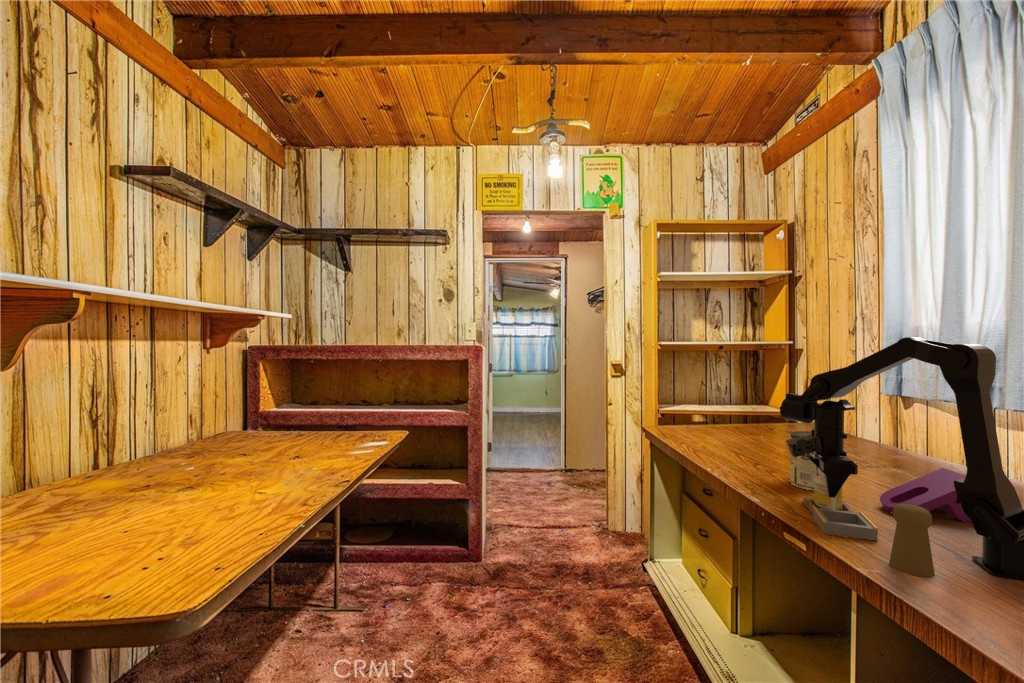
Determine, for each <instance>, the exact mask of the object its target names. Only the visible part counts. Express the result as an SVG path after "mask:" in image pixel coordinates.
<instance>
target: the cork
mask: <svg viewBox="0 0 1024 683" xmlns="http://www.w3.org/2000/svg"><path fill="white" fill-rule="evenodd" d="M930 512H931V511H928V510H926V509H924V508H922V507H919V506H916V505H911V504H898V505H896V506H895V507H894V509H893V514H892V516H893V520H894V521H895V522H896V526H895V529H894V530H895V531H894V536H893V542H892V547H891V552H890V558H889V563H888V564H889V565H890V567H892V568H894V569H895V570H897V571H899V572H901V573H904V574H907V575H910V576H915V577H919V578H934V577H935V575H936V573H935V568H934V567H935V566H934V560H933V554H932V549H931V543H930V534H929V530H928V529H929V528H930V527H931V526H932V523H933V517H932V514H931V513H930Z"/></svg>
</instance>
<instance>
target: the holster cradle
mask: <svg viewBox="0 0 1024 683" xmlns="http://www.w3.org/2000/svg"><path fill="white" fill-rule="evenodd" d="M802 500H803V501H804V502H803V501H802V502H803V504H804V505H805V504H806V505H805V507H806V508H807V507H808V508H809V509H808V508H807V509H808V511H809V510H810V511H811V512H810V511H809V512H810V514H813V506H815V504H813V503H814V498H809V497H808V496H803V498H802ZM842 509H843V510H844V511H848V512H855V511H854V509H852V508H851V507H850V506H849V504H848V503H846V501H844V500H842ZM843 510H842V511H843Z"/></svg>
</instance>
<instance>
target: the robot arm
mask: <svg viewBox="0 0 1024 683" xmlns="http://www.w3.org/2000/svg"><path fill="white" fill-rule="evenodd" d="M913 359H915V360H918V361H920V362H924V363H927V364H931V365H934V366H939V369H940V371H941V374H942V376H943V380H945V382H946V383H947V385H948V386H949V387H950V389H951V390H952V391H953V393H954V396H955V404H956V409H957V416H958V421H959V428H960V434H961V439H962V441H961V442H962V446H963V454H964V458H965V464H966V465H965V466H966V474H965V475H966V477H965V478H964V479H960V480H956V481H954V487H955V490H956V493H957V500H956V504H960V503H961V508H962V511H963V513H964V514H965V515H966V516H968V517H969V518H970V519H971V521H972V523H971V524H972V526H973V527H974V530H975V533H976V534H977V535H979V536H982V556H978V555H972V556H971V559H972V561H974V562H976V563H977V564H979V566H980V567H982V568H983V569H985V570H986V571H987V572H988V573H989V574H991V575H993V576H995V577H1003V578H1009V579H1017V580H1024V509H1023V506H1022V503H1021V500H1020V498H1019V496H1018V493H1017V490H1016V488H1015V486H1014V484H1013V483H1012V482H1011V480H1010V479H1009V477H1008V476H1007V474H1006V473H1005V471H1004V469H1003V463H1002V457H1001V451H1000V446H999V440H998V434H997V433H998V432H997V428H996V421H995V417H994V411H993V410H994V409H993V403H992V398H991V390H992V386H993V383H994V380H995V378H996V370H997V369H996V368H997V356H996V354H995V352H994V351H993V349H991V348H989V347H988V346H985V345H983V344H979V343H948V342H941V341H935V340H930V339H925V338H922V337H921V336H919V337H917V336H916V337H915V336H914V337H912V336H911V337H910V336H909V337H907V336H905V337H902V338H899V340H897V341H896V342H894V343H893V344H891V345H888V346H887V347H884V348H881V350H878V351H876V352H874V353H872V354H870V355H868V356H866V357H864V358H861V359H860V360H858V361H855V362H853V363H851V364H849V365H848V366H845V367H841V368H837V369H832V370H828V371H825V372H822V373H821V372H820V373H819V374H815V375H813V377H811V378H810V383H809V386H807V388H805V390H804V391H803V392H802V394H798V393H793V392H792V393H791V392H790V393H788V392H787V393H786V394H785V398H784V399H783V400H782V403H780V404H781V405H780V406H779V413H780V417H782V418H783V419H784V420H787V421H792V422H798V423H804V424H811V423H813V422H814V423H813V424H814V425H813V428H811V430H810V432H811V434H810V435H808V436H802V437H798V438H793V439H791V438H790V439H787V440H786V441H785V443H786V445H787V448H788V450H789V453H790V455H791V454H792V456H793V457H798V456H801V455H803V454H810V453H812V456H808V458H809V459H810V460H811V461H812V462H813V463H814V464H815V465H816V468H817V471H818V468H819V469H820V470H821V471H822V472H823V473H824V474H825V478H826V484H827V489H828V494H829V497H832V498H835V497H836V495H837V494H838V492H839V490H840V489H841V487H842V488H843V486H844V484H845V483H846V481H847V480H848V478H849V477H850V475H851V476H853V475H854V476H855V475H858V474H859V473H858V470H859V469H858V467H859V465H858V464H857V463H856V462H854V461H853V460H852V459H851V458H849V457H848V456H847V454H848V453H847V451H845V439H847V438H848V433H845V411H846V412H847V411H855V410H856V406H854V405H853V404H851V403H850V402H849V401H848V399H847V398H844V397H845V396H847V395H848V394H850V393H852V392H853V391H854V390H856V389H857V388H858V387H859V386H860V384H862V383H863V382H864V381H866V380H869V379H871V378H874V377H876V376H878V375H880V374H883V373H884V372H887V371H889V370H891V369H893V368H896V367H897V366H900V365H903V364H904V363H907V362H909V361H911V360H913ZM842 397H843V398H842ZM836 398H838V399H839V398H842V399H839V400H838V401H837V400H836V401H835V400H834V401H833V400H831V399H836ZM818 401H819V402H818ZM820 401H822V402H821V403H820ZM818 475H819V474H818Z"/></svg>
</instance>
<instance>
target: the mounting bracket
mask: <svg viewBox="0 0 1024 683" xmlns="http://www.w3.org/2000/svg"><path fill="white" fill-rule="evenodd" d="M965 477H966V474H962V473H960V472H956V471H955V470H954V471H953V470H951V469H947V468H945V467H941V468H938V469H937V470H934V471H932V472H930V473H927V474H925V475H922V476H920V477H917V478H915V479H913V480H910V481H908V482H905V483H903V484H900V485H898V486H895V487H893V488H891V489H887V490H886V491H884V492H883V493H882V494H881V495H880V497H879V501H880V503H881V505H882V507H884V508H883V509H884V510H885V511H886V510H887V511H889V512H892V513H893V509H894V507H895V506H896V505H898V504H911V505H916V506H919V507H922V508H924V509H926V510H928V511H929V512H931V511H933V510H936V509H937V510H936V511H945V512H946V513H947V514H948V515H949V516H950V517H952V518H954V519H956V520H959V521H961V522H963V523H966V522H972V521H971V519H970V518H969V517H968V516H966V515H965V514H964V513H963V511H962V508H961V503H960V504H956V500H957V493H956V490H955V487H954V481H956V480H960V479H964V478H965ZM887 511H886V512H887ZM889 512H888V513H889Z"/></svg>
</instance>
